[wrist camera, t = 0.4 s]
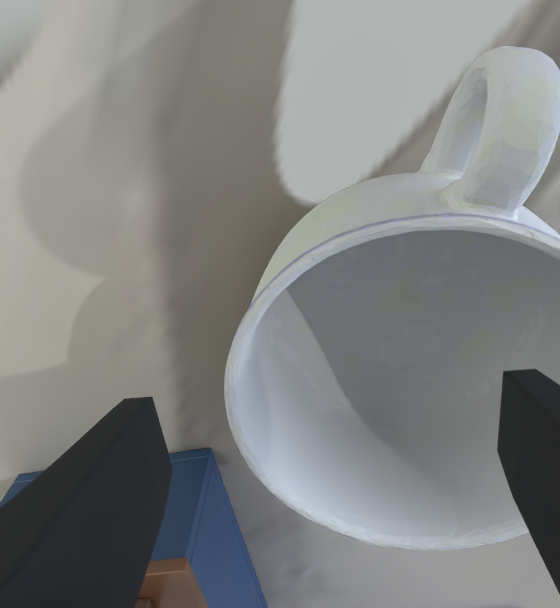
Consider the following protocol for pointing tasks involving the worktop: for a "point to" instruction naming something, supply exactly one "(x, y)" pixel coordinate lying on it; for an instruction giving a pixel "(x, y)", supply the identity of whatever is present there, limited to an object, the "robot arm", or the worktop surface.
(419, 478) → the teacup
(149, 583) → the tin lid
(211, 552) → the tin
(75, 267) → the worktop surface
